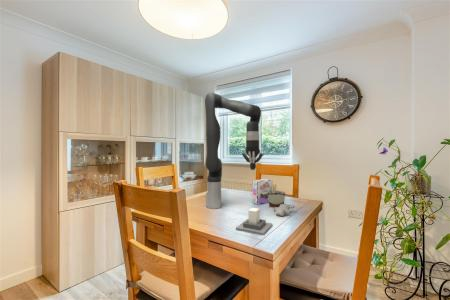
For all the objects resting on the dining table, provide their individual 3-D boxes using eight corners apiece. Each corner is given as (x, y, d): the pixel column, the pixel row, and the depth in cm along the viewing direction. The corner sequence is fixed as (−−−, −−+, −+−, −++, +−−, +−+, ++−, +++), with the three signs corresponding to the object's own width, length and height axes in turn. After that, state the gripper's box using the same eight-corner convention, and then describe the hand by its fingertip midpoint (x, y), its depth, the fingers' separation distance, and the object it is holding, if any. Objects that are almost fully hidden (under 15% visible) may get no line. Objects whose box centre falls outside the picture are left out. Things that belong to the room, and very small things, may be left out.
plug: (248, 226, 107) (248, 210, 107) (252, 223, 111) (252, 207, 111) (256, 227, 105) (256, 211, 105) (259, 224, 110) (259, 208, 109)
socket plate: (235, 229, 106) (235, 223, 105) (247, 220, 118) (247, 215, 118) (263, 235, 99) (263, 228, 99) (272, 225, 111) (272, 219, 111)
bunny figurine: (270, 208, 127) (280, 200, 139) (271, 216, 128) (281, 208, 139) (286, 211, 121) (295, 202, 133) (286, 220, 122) (296, 210, 134)
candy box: (257, 204, 149) (256, 181, 149) (252, 203, 155) (252, 180, 154) (272, 202, 156) (272, 179, 155) (267, 200, 161) (267, 178, 161)
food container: (284, 205, 148) (284, 190, 148) (286, 207, 142) (286, 192, 142) (266, 204, 149) (266, 190, 149) (266, 207, 143) (266, 192, 143)
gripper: (265, 139, 125) (266, 169, 125) (244, 140, 131) (244, 168, 132) (261, 139, 118) (261, 170, 119) (239, 139, 125) (239, 169, 125)
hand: (252, 169), depth 125 cm, fingers closed
